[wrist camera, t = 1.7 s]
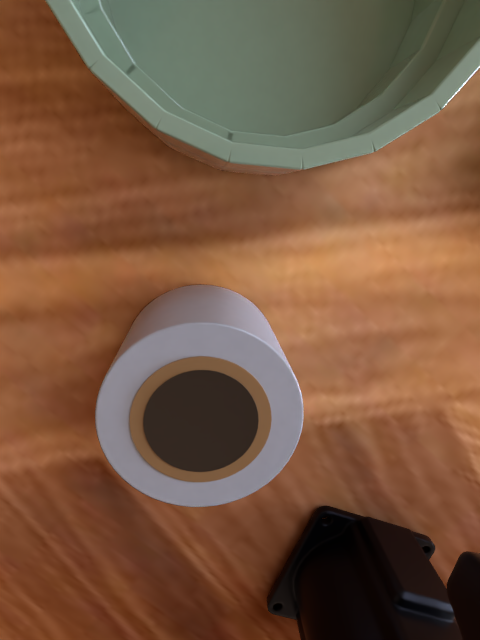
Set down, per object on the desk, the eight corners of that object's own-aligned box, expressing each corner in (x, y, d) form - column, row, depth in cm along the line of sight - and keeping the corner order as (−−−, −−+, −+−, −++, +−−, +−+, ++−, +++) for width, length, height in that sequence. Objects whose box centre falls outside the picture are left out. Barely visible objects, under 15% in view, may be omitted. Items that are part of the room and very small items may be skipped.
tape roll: (241, 442, 19) (255, 530, 14) (104, 398, 17) (66, 477, 13) (300, 317, 17) (339, 367, 12) (155, 260, 16) (134, 290, 11)
